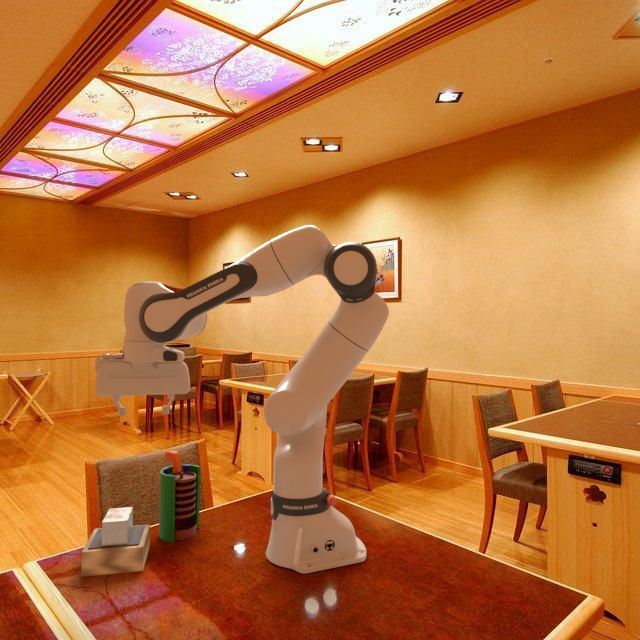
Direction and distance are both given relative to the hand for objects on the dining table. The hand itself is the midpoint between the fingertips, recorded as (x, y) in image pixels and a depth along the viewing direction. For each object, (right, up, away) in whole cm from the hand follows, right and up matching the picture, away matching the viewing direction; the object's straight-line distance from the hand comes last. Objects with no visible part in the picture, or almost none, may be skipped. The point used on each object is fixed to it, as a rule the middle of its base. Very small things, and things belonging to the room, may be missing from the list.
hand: (144, 414), depth 115 cm
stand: (-4, -31, -4) cm, 32 cm away
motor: (+5, -31, +10) cm, 33 cm away
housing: (-4, -26, -5) cm, 27 cm away
